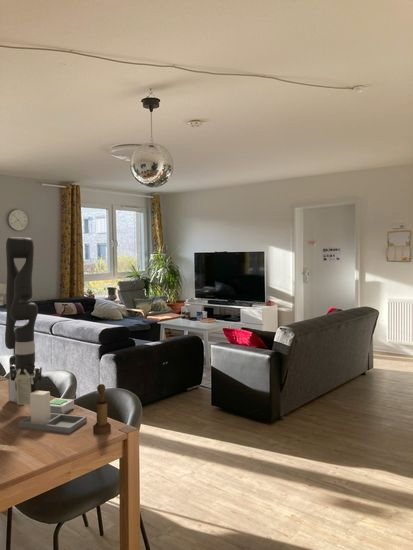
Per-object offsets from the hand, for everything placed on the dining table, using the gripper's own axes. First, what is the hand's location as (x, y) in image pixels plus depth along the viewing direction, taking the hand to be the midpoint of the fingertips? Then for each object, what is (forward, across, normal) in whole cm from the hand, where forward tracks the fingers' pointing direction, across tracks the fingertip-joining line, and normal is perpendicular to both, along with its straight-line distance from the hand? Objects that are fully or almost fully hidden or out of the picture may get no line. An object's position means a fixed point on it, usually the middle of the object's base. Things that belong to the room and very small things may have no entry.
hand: (26, 391), depth 187 cm
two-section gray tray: (+10, -18, +7) cm, 22 cm away
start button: (+9, -11, -7) cm, 15 cm away
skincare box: (+5, 0, 0) cm, 5 cm away
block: (+9, -12, +7) cm, 17 cm away
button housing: (+11, -11, -7) cm, 17 cm away
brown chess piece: (+10, -38, +5) cm, 39 cm away
